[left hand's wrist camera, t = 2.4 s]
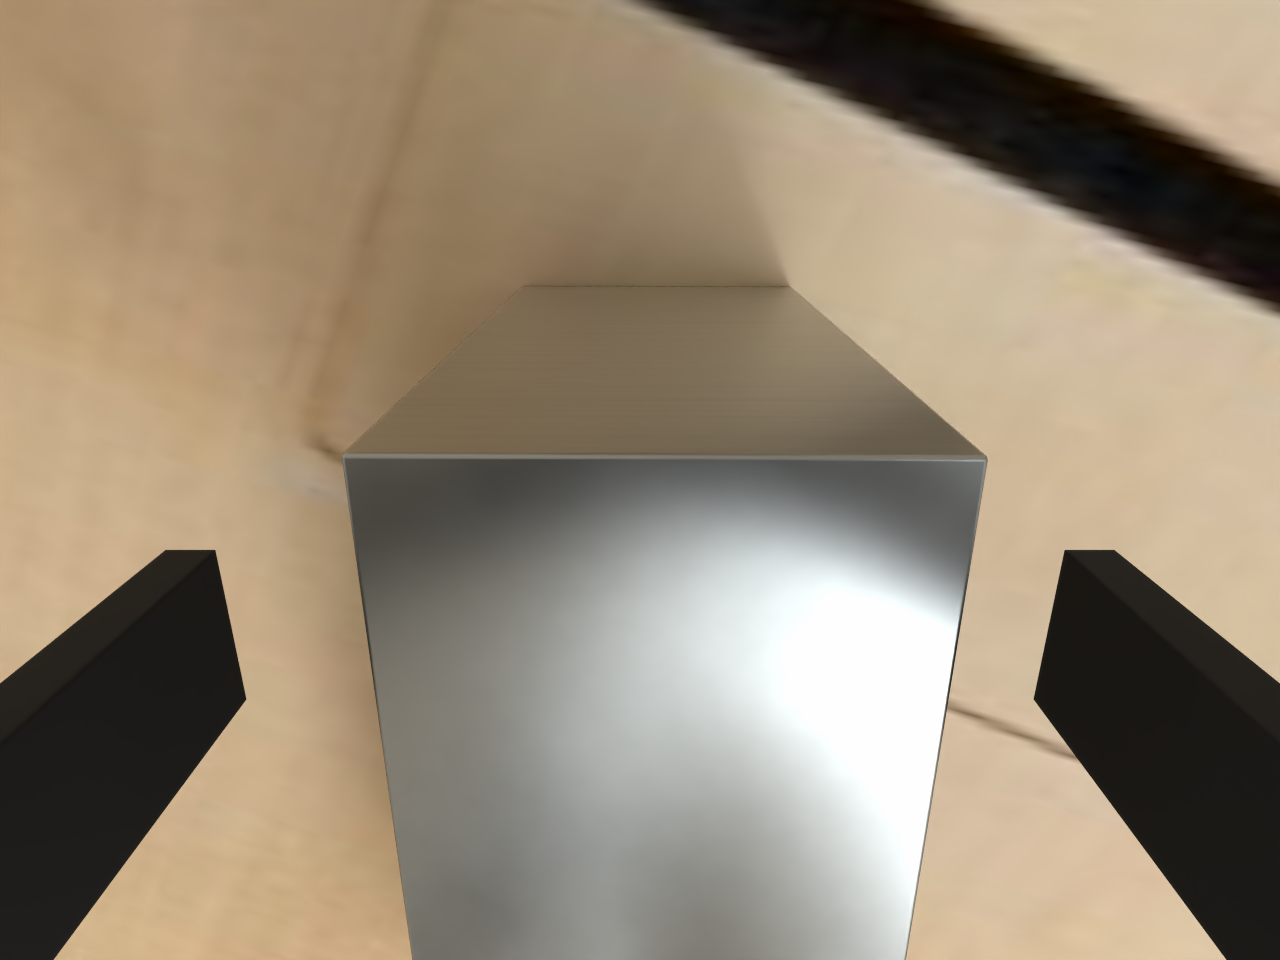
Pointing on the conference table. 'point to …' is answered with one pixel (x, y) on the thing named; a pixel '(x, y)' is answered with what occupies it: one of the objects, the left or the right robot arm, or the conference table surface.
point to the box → (661, 630)
